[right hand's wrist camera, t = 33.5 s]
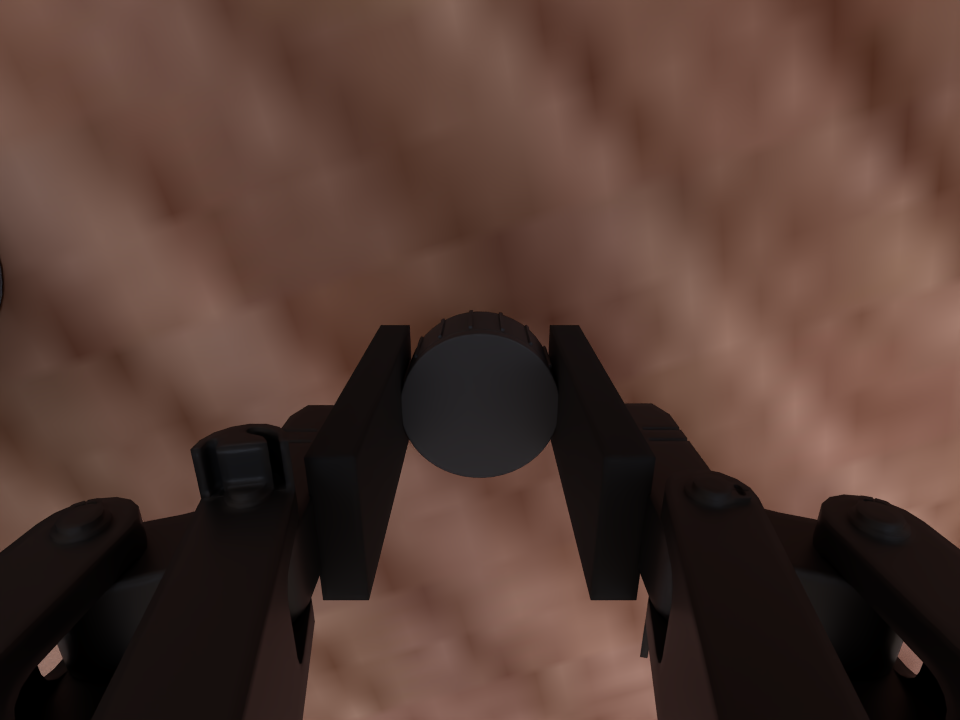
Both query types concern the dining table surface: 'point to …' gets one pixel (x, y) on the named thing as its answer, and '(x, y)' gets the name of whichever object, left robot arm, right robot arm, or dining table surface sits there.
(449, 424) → the cap
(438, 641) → the dining table surface
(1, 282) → the bottle
